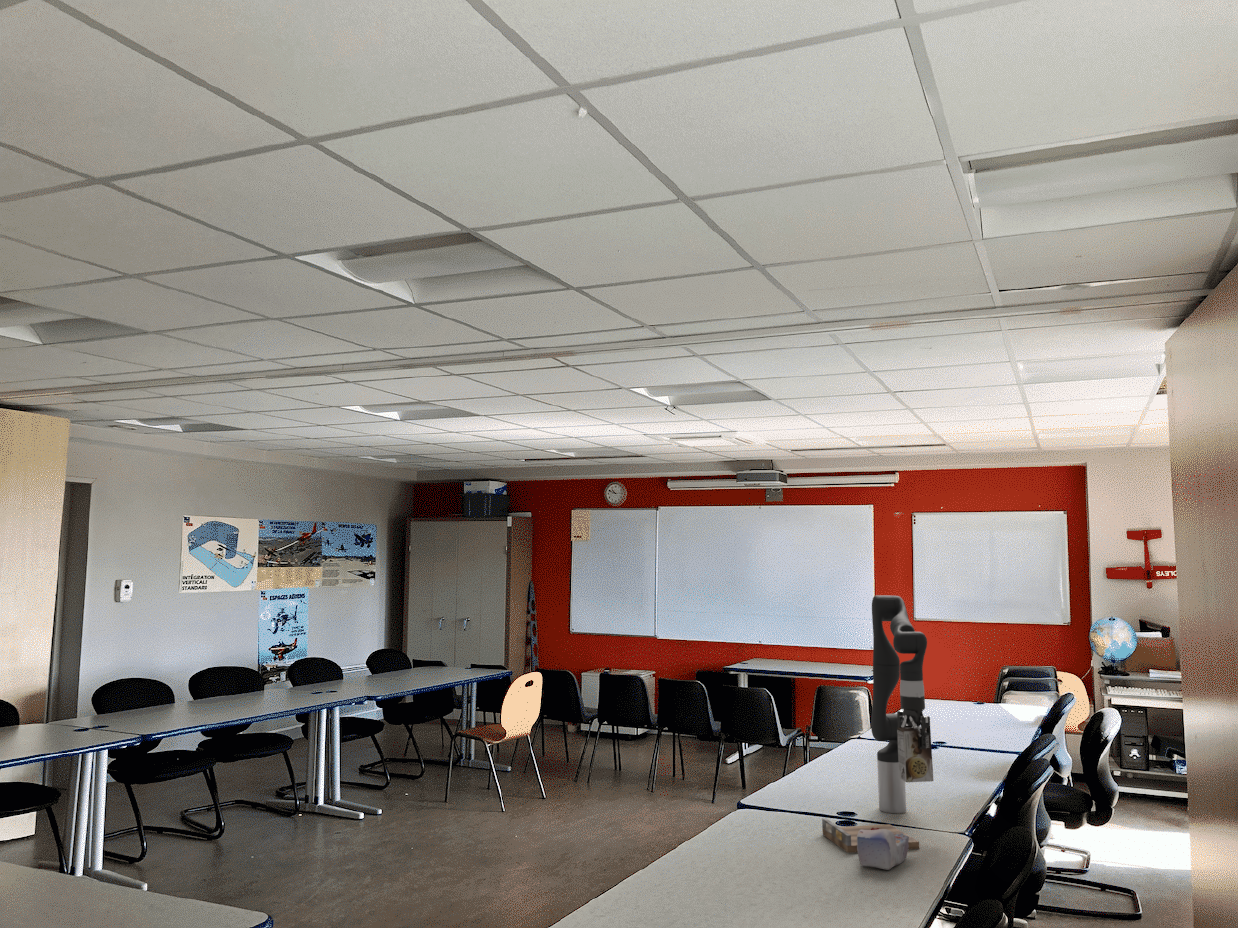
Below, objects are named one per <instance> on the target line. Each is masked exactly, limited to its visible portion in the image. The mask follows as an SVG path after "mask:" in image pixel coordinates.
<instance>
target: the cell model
mask: <svg viewBox="0 0 1238 928" xmlns="http://www.w3.org/2000/svg"><path fill="white" fill-rule="evenodd" d="M909 836H910V835H908V836H906V835H903V834H902V833H901V834H895V833H893V832H891V831H890V830H887V829H879V828H875V829H874V828H872V829H871V830H862V829H861V830H860V831H859V832H858V834H857V851H858V852H857V854H858V855H857V856H858V859H859V862H860V864H861V866H862V867H873V868H877V869H881V870H885V871H889V870H891V869H892V868H893V867H896V866H899V865H900V864H902V863H903V862H904V861H905V859H907V856H908V853H909V852H908V851H909V850H910V849H909V845H908V841H909Z"/></svg>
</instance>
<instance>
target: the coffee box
mask: <svg viewBox="0 0 1238 928" xmlns="http://www.w3.org/2000/svg"><path fill="white" fill-rule="evenodd" d="M925 731H926V732H927V728H925ZM920 732H921V733H922V730H920ZM931 732H932V731H931V729H930V735H929V736H926V748H925V749H919V746H918V737H919V736H918V734H917V731H916V730H915V729H914V727H906V728H904V727H902V728H897V739H898V760H899V778H900V779H902V780H903V781H905V783H924V782H925V783H926V782H934V767H933V765H934V764H933V752H932V748H933V747H932V733H931Z"/></svg>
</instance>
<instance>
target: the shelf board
mask: <svg viewBox="0 0 1238 928" xmlns="http://www.w3.org/2000/svg"><path fill="white" fill-rule="evenodd" d="M821 821H822V822H821V825H822V826H821V827H822V828H821V830H822V835H823V836H824V837H826V838H827V839H829V840H830V841H831V842H832V843H833V844H835V845H836V846H838V847H839V848H840V849H842V850H843V851H844V852H846V853H847V854H850V853H851V854H852V853H858V851H857V834H858V832H859V831H860V830H861V829H862V830H871V829H872V828H874V829H875V828H879V829H887V830H890V831H891V832H893V833H895V834H901V833H902V834H903V835H906V836H909V841H908V845H909V849H908V850H918V849H920V841H918V840H917V839H915V838H913V837H912V836H910V835H908V834H907V833H905V832H903V831H902V830H900V829H899V828H897V827H895V826H893V825H892V824H874V825H873V824H872V825H855V826H853V825H851V826H838V825H836V824H835V823H834V822H832V821H831V820H829V819H828V818H825V817H823V818H821Z"/></svg>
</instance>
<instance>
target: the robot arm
mask: <svg viewBox="0 0 1238 928" xmlns="http://www.w3.org/2000/svg"><path fill="white" fill-rule="evenodd" d="M871 620H872V635H873V639H872V640H873V645H872V647H873V650H872V679H873V680H872V681H873V682H872V683H873V684H872V685H873V686H872V687H873V688H872V690H873V692H872V694H873V695H872V705H871V719H870V721H871V722H870V728H871V734H872V736H873V738H874V739H875V740H876V741H878V742H886V741H887V742H888V743H887V745H886V746H884V747H883V748H881V749H879V750H878V751H877V754H876V757H877V758H876V759H877V760H876V762H877V789H878V810H879V811H881V812H883V813H888V814H903V813H905V812H907V796H906V795H907V791H906V782H905V781H903V780H902V779H900V778H899V760H898V739H897V728H902V727H904V728H906V727H914V729H915V730H916V731H917V734H918V736H919V737H918V746H919V749H925V748H926V736H929V735H930V730H931V717H930V716H929V715H924V713H923V711H924V710H926V699H925V697H926V696H925V686H924V685H925V684H924V677H923V676H924V675H923V673H924V672H923V670H924V669H923V666H924V659H925V656H926V655H925V654H926V651H927V647H928V638H927V637H926V635H925V633H923V632H921V631H916V630H915V627H914V626H913V625H912V623H911V621H910V620H909V614H908V611H907V608H906V603H905V601H904V599H903V598H902V596H899V595H885V594H884V595H881V594H876V595H874V596H873V597H872V600H871ZM883 622H890V624H889V629H890V632H891V634H892V635H893V639H892V640H893V641H892V644H891V642H890V640H889V639H888V637H887V635H886V633H885V630H884V626H883ZM898 653H899V654H908V655H909V654H910V655H914V656H913V658H912V659H908V660H904V661H902V662H901V660H900V657H899V655H898ZM899 680H900V684H899V692H900V693H899V695H900V696H899V697H900V699H899V701H900V709H901V710H897V711H896V713H893V712H892V713H887V707H888V702H889V699H890V698H891V696H892V695H893V694H892V693H893V692H894V690H895V688H896V687H897V685H898V683H899ZM925 728H927V732H926V731H925ZM920 730H922V733H921V732H920Z"/></svg>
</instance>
